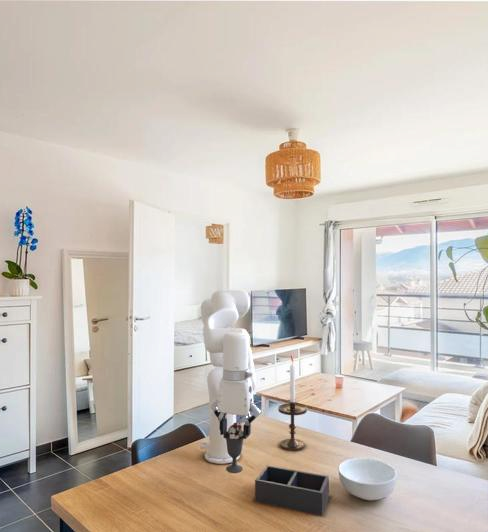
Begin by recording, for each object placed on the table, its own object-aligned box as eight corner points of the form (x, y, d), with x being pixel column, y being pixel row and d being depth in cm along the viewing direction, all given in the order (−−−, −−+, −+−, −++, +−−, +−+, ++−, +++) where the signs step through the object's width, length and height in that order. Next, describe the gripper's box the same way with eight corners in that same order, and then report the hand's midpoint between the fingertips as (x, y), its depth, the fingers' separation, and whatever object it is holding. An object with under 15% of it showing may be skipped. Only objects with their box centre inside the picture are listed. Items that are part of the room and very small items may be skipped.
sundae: (249, 466, 120) (250, 416, 120) (239, 476, 114) (239, 424, 114) (230, 461, 123) (230, 412, 123) (219, 471, 117) (219, 420, 117)
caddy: (322, 515, 108) (322, 493, 108) (254, 501, 115) (254, 480, 115) (328, 496, 118) (328, 476, 118) (266, 484, 124) (266, 465, 125)
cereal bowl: (357, 474, 131) (357, 452, 132) (407, 493, 119) (406, 469, 120) (327, 493, 119) (327, 469, 120) (378, 517, 108) (378, 490, 108)
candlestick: (279, 452, 148) (279, 356, 149) (277, 440, 159) (277, 351, 160) (308, 452, 148) (308, 356, 149) (304, 440, 159) (304, 351, 160)
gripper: (267, 374, 119) (266, 434, 119) (214, 368, 125) (214, 426, 125) (258, 380, 112) (257, 445, 112) (203, 374, 118) (202, 435, 118)
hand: (234, 434), depth 118 cm, fingers closed on sundae, 6 cm apart
